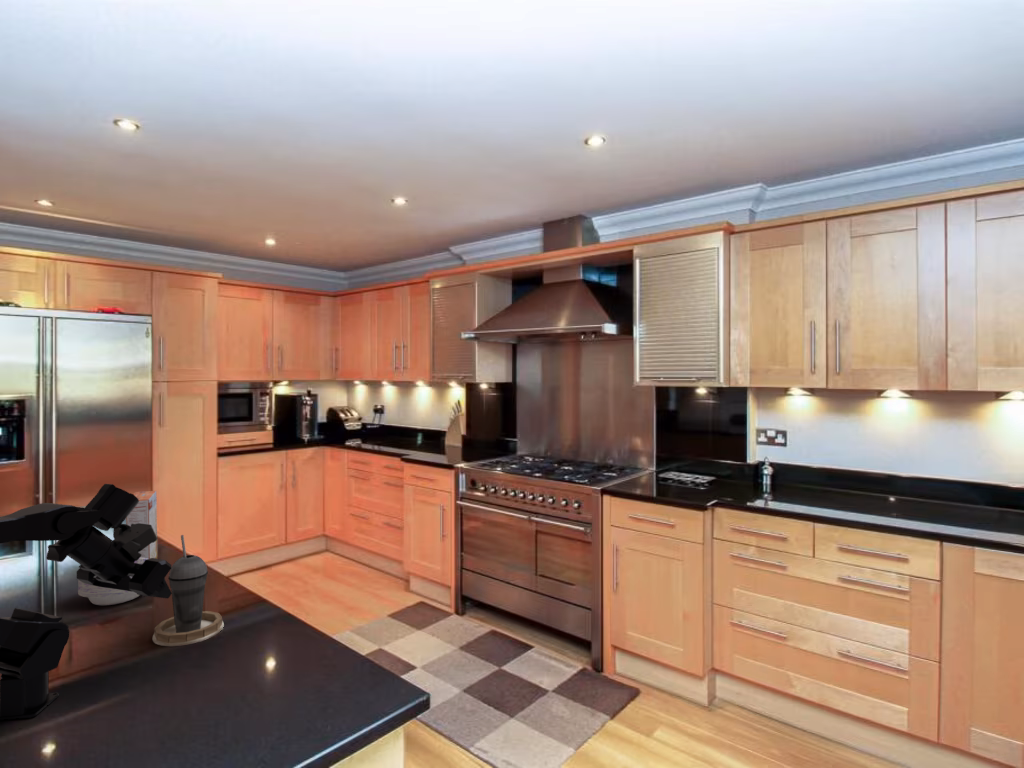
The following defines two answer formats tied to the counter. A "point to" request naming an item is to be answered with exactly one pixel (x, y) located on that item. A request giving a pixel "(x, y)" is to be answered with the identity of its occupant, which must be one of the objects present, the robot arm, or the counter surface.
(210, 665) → the counter surface
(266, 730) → the counter surface
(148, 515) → the white cardboard box
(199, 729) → the counter surface
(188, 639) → the ring holder
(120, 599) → the paper bowls
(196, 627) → the beverage cup
